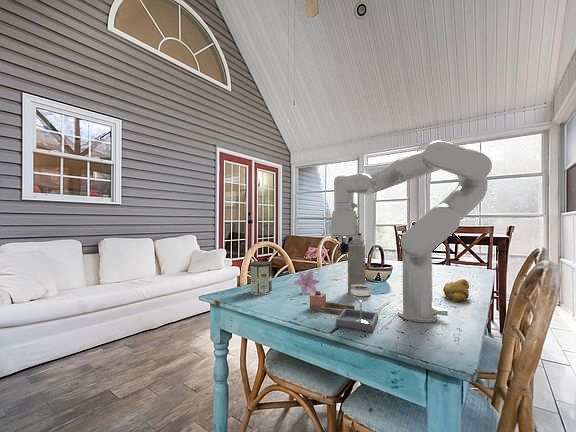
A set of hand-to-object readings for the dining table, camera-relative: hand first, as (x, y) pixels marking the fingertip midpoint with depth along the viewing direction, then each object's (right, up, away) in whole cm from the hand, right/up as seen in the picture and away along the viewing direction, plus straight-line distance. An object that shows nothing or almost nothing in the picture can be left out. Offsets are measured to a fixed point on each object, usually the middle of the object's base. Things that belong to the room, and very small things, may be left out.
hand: (344, 253), depth 111 cm
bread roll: (+50, -21, +9) cm, 55 cm away
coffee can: (-35, -22, +24) cm, 47 cm away
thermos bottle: (+10, -21, +20) cm, 31 cm away
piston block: (-11, -21, 0) cm, 24 cm away
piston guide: (-6, -21, -4) cm, 22 cm away
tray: (+1, -21, -17) cm, 27 cm away
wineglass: (+2, -21, -17) cm, 27 cm away
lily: (-13, -22, +22) cm, 34 cm away
